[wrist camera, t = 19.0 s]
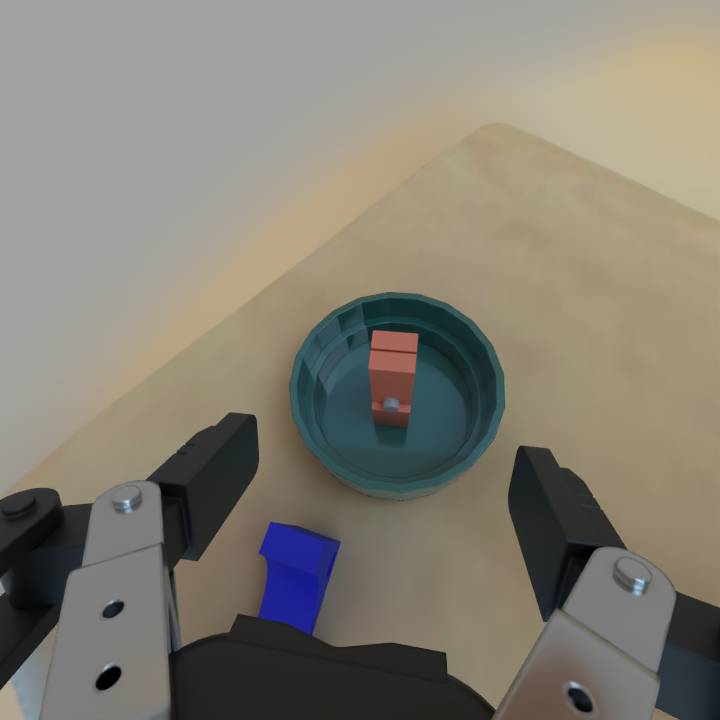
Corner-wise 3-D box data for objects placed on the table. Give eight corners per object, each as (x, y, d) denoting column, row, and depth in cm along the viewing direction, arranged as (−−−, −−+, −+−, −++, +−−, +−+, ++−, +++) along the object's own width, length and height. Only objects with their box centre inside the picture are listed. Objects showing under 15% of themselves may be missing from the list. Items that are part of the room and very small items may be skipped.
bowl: (485, 335, 29) (501, 298, 25) (486, 513, 24) (508, 506, 19) (323, 323, 31) (311, 286, 27) (290, 486, 26) (268, 475, 21)
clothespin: (411, 383, 28) (419, 324, 20) (407, 429, 26) (414, 383, 19) (379, 380, 28) (374, 320, 20) (373, 425, 26) (366, 378, 19)
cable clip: (290, 804, 19) (250, 909, 14) (213, 762, 20) (145, 846, 14) (363, 550, 24) (354, 552, 18) (297, 526, 24) (270, 521, 19)
